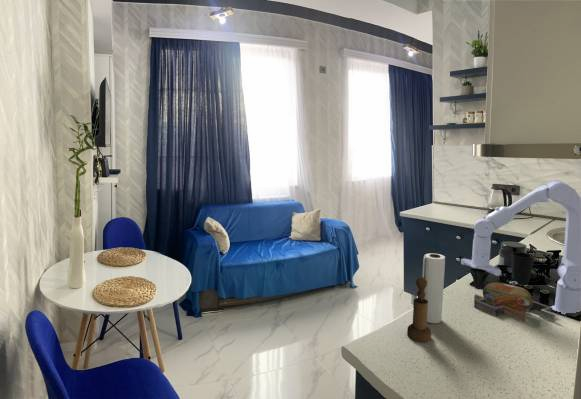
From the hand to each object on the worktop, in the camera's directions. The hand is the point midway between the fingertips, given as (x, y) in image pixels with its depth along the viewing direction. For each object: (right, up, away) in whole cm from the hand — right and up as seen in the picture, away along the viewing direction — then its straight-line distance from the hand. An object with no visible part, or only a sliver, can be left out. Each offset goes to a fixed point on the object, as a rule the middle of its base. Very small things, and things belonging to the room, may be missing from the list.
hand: (478, 288), depth 139 cm
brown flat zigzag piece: (+6, -5, -11) cm, 13 cm away
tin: (+5, -5, -8) cm, 11 cm away
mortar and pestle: (-31, -8, -26) cm, 41 cm away
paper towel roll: (-24, -6, -16) cm, 29 cm away
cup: (+23, -1, +13) cm, 26 cm away
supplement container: (+28, +1, +28) cm, 40 cm away
